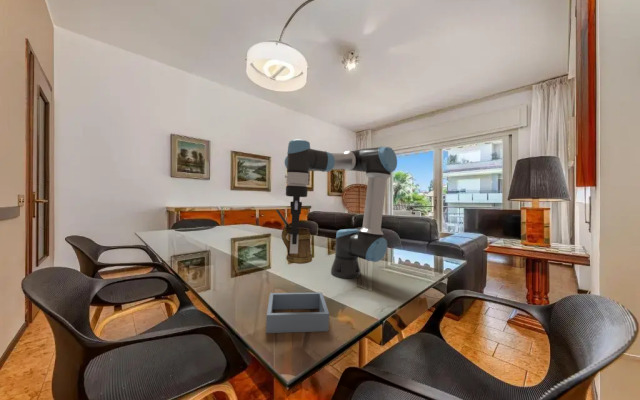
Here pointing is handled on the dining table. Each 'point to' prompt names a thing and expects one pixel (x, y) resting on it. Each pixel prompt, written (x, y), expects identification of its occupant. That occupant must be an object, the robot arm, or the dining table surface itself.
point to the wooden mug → (303, 244)
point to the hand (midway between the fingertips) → (293, 250)
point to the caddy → (297, 320)
